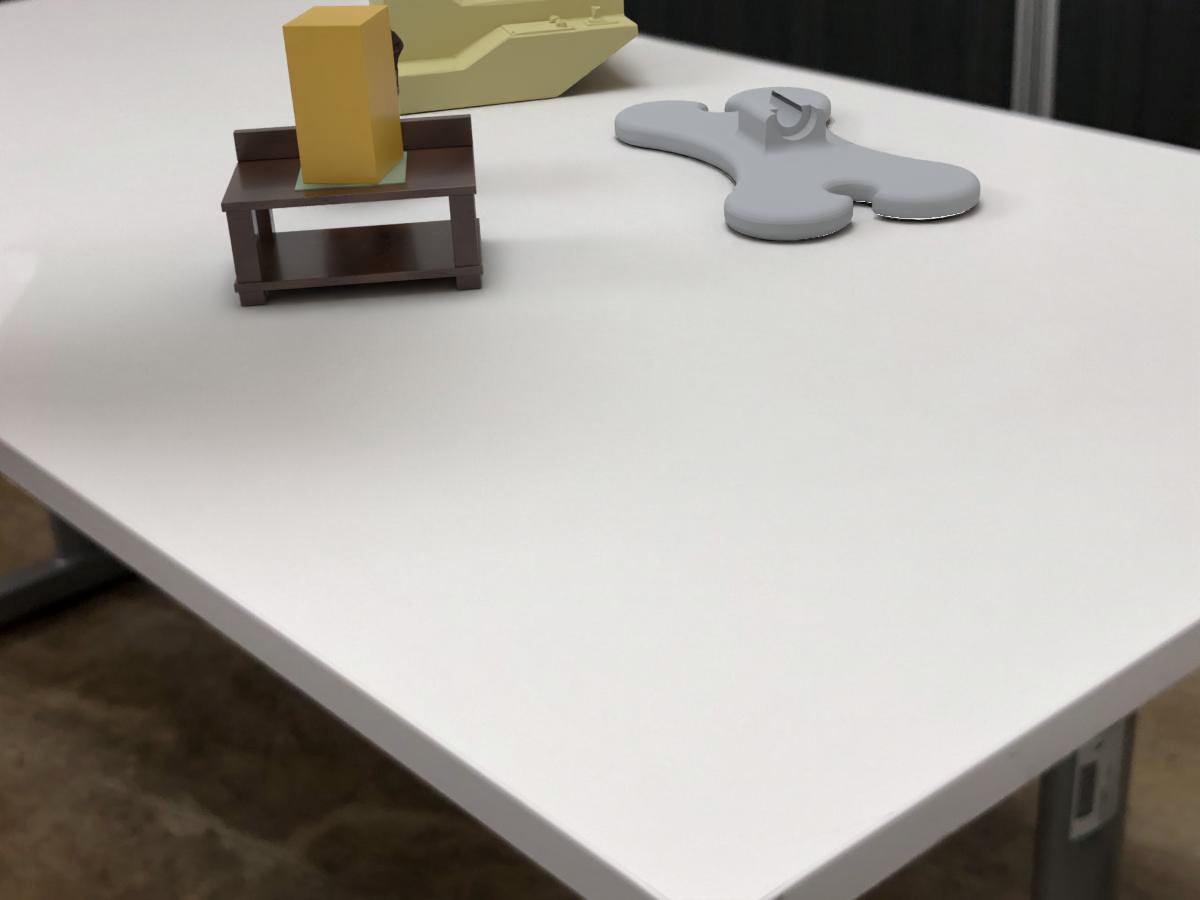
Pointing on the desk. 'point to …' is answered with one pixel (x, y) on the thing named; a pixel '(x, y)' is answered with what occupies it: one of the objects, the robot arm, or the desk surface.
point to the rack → (363, 252)
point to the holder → (795, 163)
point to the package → (344, 93)
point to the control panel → (500, 48)
